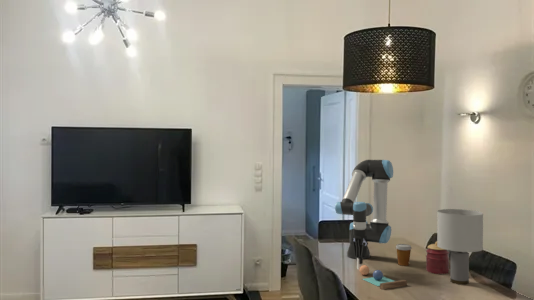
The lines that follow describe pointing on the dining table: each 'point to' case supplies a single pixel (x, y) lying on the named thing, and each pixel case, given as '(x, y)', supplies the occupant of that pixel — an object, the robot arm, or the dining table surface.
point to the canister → (437, 259)
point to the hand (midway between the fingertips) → (359, 269)
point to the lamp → (460, 239)
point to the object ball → (377, 275)
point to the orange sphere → (364, 270)
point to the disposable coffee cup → (403, 254)
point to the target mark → (377, 282)
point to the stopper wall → (393, 284)
